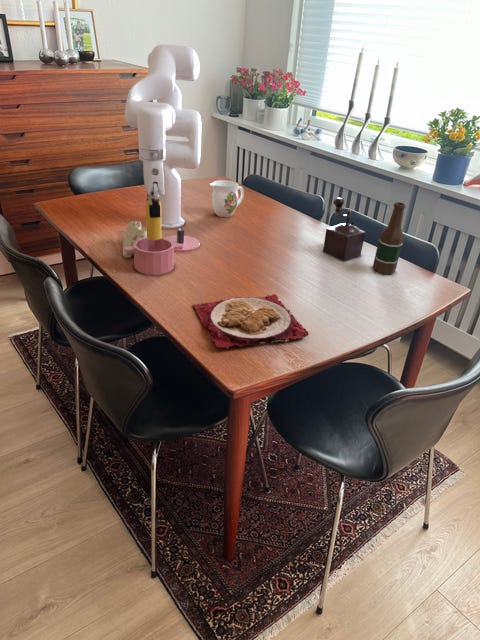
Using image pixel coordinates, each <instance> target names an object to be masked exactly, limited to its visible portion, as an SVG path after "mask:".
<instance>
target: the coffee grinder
mask: <svg viewBox="0 0 480 640" xmlns="http://www.w3.org/2000/svg"><path fill="white" fill-rule="evenodd" d="M344 204H345V200H344V199H343V197H337V198H335V199H334V200H333V205H334V206H335V209H334V215H335V216H337V217H340V218H341V217H342V218H346V220H345V222H344V223H339V224H336V225H332V226H329V227H326V229H325V235H324V240H323V241H324V242H323V247H322V252H323V253H325V254H326V255H328V256H329V257H330V256H331V257H332V258H334V259H337V260H339V261H341V262H346V261H349V260H352V259H356V258H358V257H361V255H362V250H363V245H364V241H365V236H366V231H364V230H362V229H360V228H359V227H357V226H355V225H354V224H355V223H354V222H351V223H349V222H350V218H351V217H352V214H351V213H352V211H351V210H347V213H346V214H343V213H340V212H342V211H343V210H344V209H343V206H344Z"/></svg>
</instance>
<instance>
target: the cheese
mask: <svg viewBox="0 0 480 640" xmlns="http://www.w3.org/2000/svg"><path fill="white" fill-rule="evenodd" d="M142 227H143V226H142V223H141V221H138V220H135V221H134V220H133V221H129V222H128V224H127V227H126V232H125V236H124V238H123V243H122V256H123V257H124V258H125V259H131V257H132V256H134V252H125V247H126V246H133V244H134V242H135V241H136V240H138V239H141V238H145V237H147V230H145V229H142Z"/></svg>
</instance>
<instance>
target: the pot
mask: <svg viewBox="0 0 480 640" xmlns="http://www.w3.org/2000/svg"><path fill="white" fill-rule="evenodd" d="M165 238H166V237H162V238H161V239H159V240H150V239H148V238H147V237H145V238H141V239H138V240H136V241H135V242H134V244H133V246H126V247H125V252H134V255H133V266H134V269H135V270H136V271H138V272H139V273H142V274H145V275H151V276H153V275H163V274H167V273H169V272H171V271H172V270H174V267H175V251H174V250H177V249H182V245H181V244H173V242H172V241H170V240H169V239H165Z"/></svg>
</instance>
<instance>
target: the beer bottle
mask: <svg viewBox="0 0 480 640" xmlns="http://www.w3.org/2000/svg"><path fill="white" fill-rule="evenodd" d="M405 209H406V204H405V203H403V202H400V201H399V202H395V203H394V204H393V210H392V213H391V216H390V219H389V222H388V224H387V226H386V227H385V228H384V229H383V230H382V231H381V233H380V235H379V238H378V242H377V246H376V251H375V255H374V259H373V264H372V269H373V270H374V272H375V273H377V274H380V275H383V276H392V275H393V274H395V273H396V269H397V266H398V263H399V259H400V254H401V251H402V247H403V244H404V233H403V230H402V222H403V216H404V211H405Z"/></svg>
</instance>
